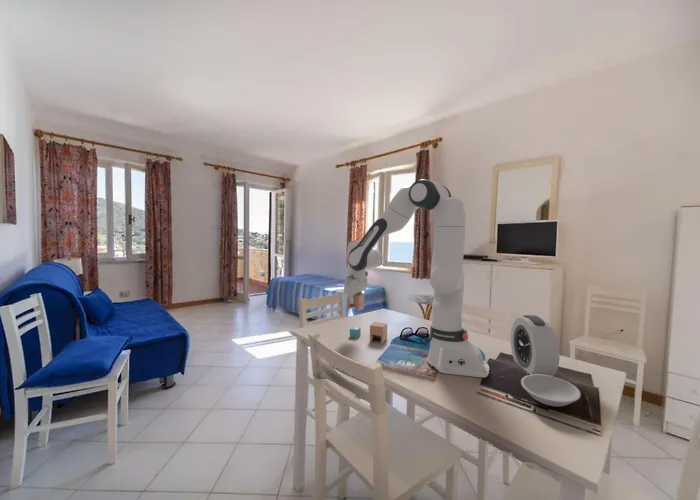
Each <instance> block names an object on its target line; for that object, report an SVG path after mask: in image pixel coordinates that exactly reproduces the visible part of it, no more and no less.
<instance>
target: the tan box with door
mask: <svg viewBox="0 0 700 500" xmlns="http://www.w3.org/2000/svg"><path fill="white" fill-rule="evenodd" d="M354 300H355V301H354V302H355V303H353V304H351V303H350V299H349V296H346V311H349V310H350V309H353V308H354V309H356V312H360V311H362V310H364V309H365V293H363V292H362V293H356V294H354Z"/></svg>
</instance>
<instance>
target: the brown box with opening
mask: <svg viewBox="0 0 700 500" xmlns="http://www.w3.org/2000/svg"><path fill="white" fill-rule="evenodd" d="M375 338H377V339H380V344H384V343H385V342H386V341H387V340H388V323H387V322H386V323H385V322H377V321H373V322H372V323H371V324H370V325H369V341H370V342H373V340H374V339H375Z"/></svg>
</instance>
